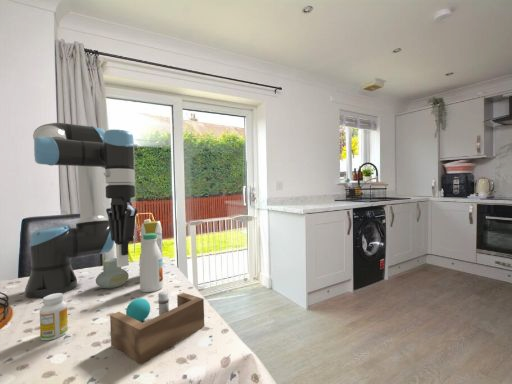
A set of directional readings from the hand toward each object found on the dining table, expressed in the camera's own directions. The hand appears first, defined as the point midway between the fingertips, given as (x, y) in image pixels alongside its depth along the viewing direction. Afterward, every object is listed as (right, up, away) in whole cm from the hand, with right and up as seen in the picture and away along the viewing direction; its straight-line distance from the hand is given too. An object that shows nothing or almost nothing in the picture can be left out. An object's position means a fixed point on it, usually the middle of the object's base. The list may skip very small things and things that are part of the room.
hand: (122, 265), depth 74 cm
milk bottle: (+1, -14, +19) cm, 24 cm away
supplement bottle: (-12, -15, -10) cm, 21 cm away
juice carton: (-5, -14, +34) cm, 37 cm away
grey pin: (+15, -14, -7) cm, 21 cm away
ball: (+7, -11, -5) cm, 13 cm away
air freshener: (-16, -15, +24) cm, 32 cm away
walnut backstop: (+15, -13, -12) cm, 24 cm away
